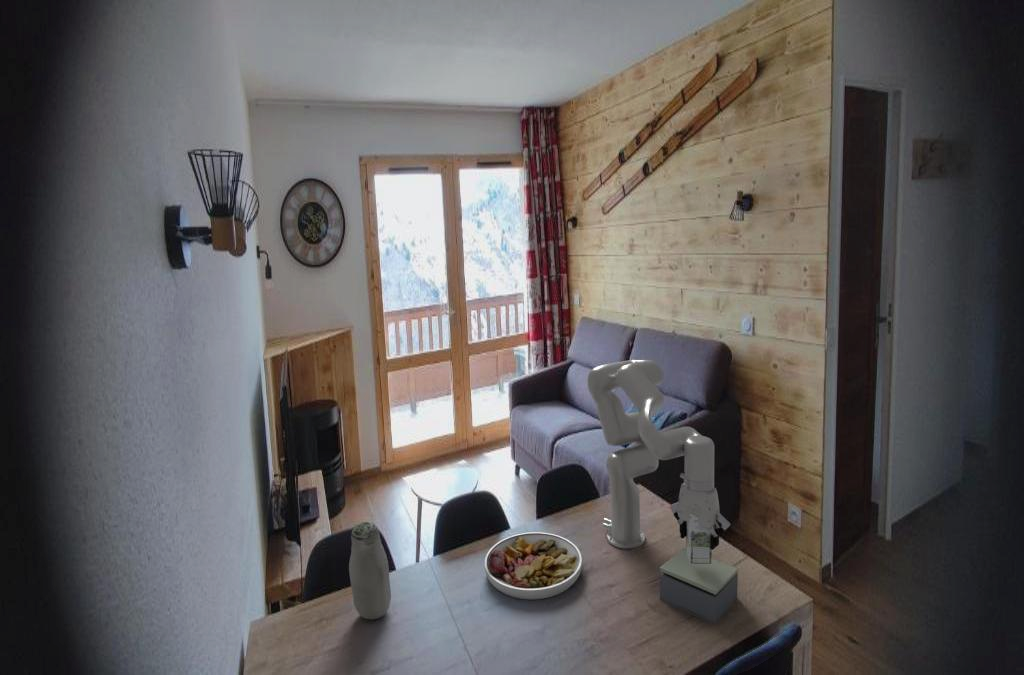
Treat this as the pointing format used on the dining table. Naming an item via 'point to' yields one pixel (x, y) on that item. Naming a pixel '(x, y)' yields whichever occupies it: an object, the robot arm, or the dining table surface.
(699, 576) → the lid
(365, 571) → the grey rounded cylinder
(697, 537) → the syrup box
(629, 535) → the robot arm
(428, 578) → the dining table surface
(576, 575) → the bowl
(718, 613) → the storage box
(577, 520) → the dining table surface
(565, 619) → the dining table surface
